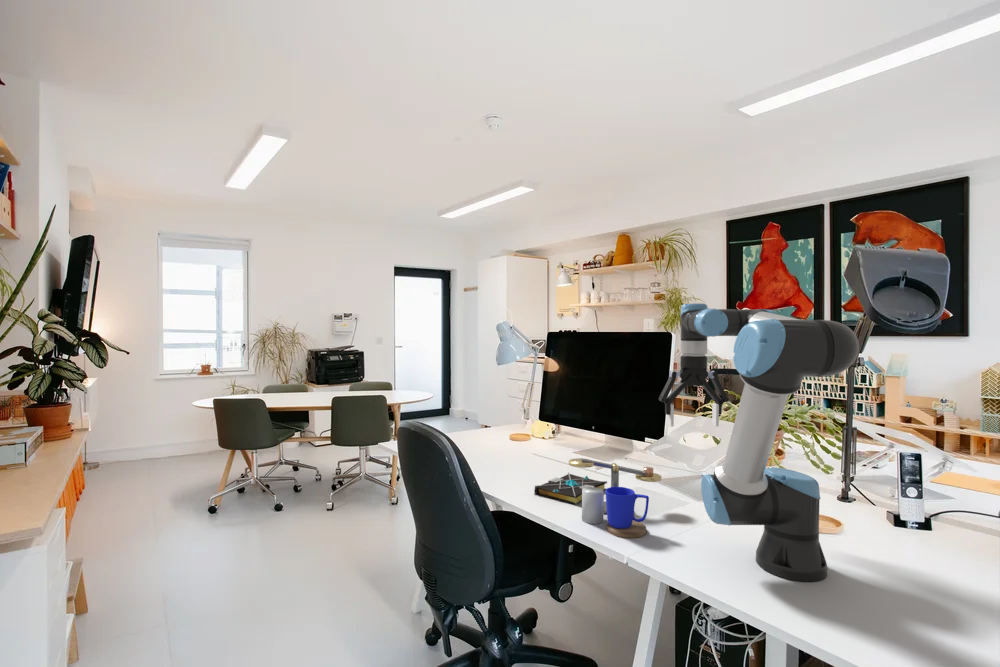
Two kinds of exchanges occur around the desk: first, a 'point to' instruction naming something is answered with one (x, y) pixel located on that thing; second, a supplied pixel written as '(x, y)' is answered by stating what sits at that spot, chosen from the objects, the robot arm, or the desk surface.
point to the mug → (622, 507)
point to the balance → (617, 472)
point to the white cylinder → (592, 505)
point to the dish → (628, 530)
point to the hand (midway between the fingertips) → (693, 425)
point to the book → (567, 488)
